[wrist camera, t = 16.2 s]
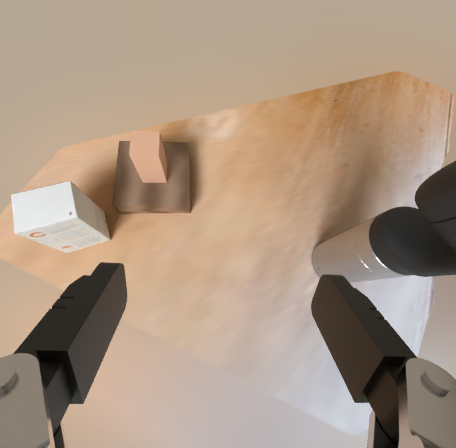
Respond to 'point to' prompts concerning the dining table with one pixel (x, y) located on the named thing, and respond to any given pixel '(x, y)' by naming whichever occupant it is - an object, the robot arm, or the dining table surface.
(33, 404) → the robot arm
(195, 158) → the dining table surface
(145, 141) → the terracotta block
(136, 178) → the walnut block
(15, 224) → the small box
